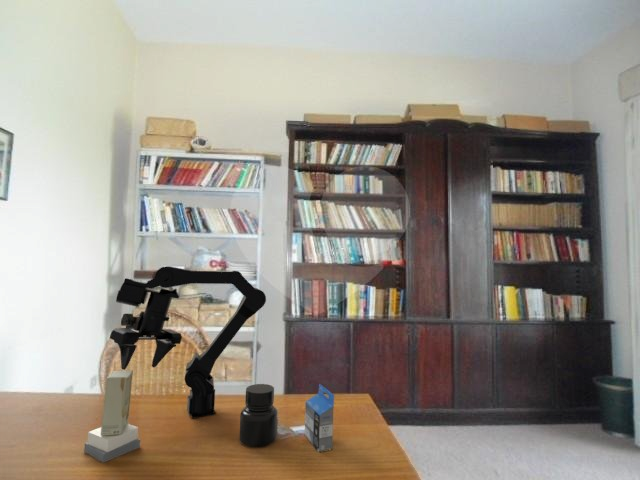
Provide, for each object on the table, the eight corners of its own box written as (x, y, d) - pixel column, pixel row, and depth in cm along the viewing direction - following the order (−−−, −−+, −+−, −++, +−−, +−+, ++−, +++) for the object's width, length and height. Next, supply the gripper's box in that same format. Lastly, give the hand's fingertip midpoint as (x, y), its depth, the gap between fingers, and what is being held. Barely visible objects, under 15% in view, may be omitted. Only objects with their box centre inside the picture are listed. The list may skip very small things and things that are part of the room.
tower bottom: (120, 440, 86) (121, 429, 86) (139, 450, 82) (140, 439, 82) (83, 454, 80) (84, 442, 80) (102, 466, 75) (103, 454, 75)
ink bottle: (284, 435, 90) (285, 385, 91) (267, 452, 81) (269, 397, 82) (249, 428, 93) (251, 380, 94) (230, 444, 85) (232, 391, 85)
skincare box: (122, 435, 79) (127, 377, 80) (99, 436, 77) (105, 378, 78) (128, 422, 85) (133, 369, 86) (108, 423, 84) (113, 369, 85)
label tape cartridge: (303, 435, 90) (305, 384, 91) (317, 433, 91) (319, 383, 92) (318, 452, 82) (319, 396, 83) (333, 449, 83) (335, 394, 84)
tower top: (117, 431, 86) (118, 420, 86) (137, 438, 82) (138, 427, 83) (87, 443, 79) (88, 432, 80) (107, 452, 76) (108, 440, 76)
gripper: (165, 306, 112) (149, 357, 109) (107, 300, 95) (87, 360, 93) (189, 315, 106) (173, 369, 104) (133, 311, 90) (113, 374, 88)
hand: (138, 368), depth 97 cm, fingers open, 9 cm apart
